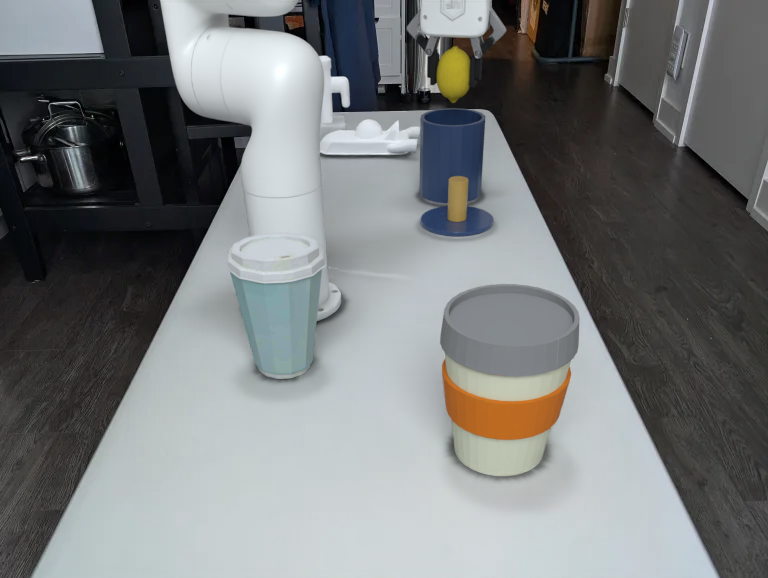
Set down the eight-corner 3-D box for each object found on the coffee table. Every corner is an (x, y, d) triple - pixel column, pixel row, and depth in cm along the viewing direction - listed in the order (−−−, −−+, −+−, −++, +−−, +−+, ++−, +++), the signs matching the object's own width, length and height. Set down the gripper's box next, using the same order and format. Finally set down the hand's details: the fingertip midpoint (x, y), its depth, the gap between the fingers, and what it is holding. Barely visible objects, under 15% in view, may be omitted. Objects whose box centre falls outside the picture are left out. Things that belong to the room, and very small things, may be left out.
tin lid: (485, 243, 121) (488, 195, 116) (412, 236, 123) (412, 188, 118) (498, 216, 129) (502, 170, 124) (430, 210, 131) (431, 164, 127)
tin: (474, 209, 131) (478, 128, 123) (412, 203, 134) (413, 123, 126) (486, 188, 139) (491, 110, 131) (427, 183, 141) (428, 106, 133)
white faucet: (352, 145, 159) (348, 60, 149) (304, 147, 158) (298, 62, 149) (350, 134, 164) (347, 52, 155) (305, 136, 164) (298, 54, 154)
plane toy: (321, 142, 160) (319, 111, 157) (421, 144, 158) (421, 112, 155) (312, 159, 152) (310, 126, 149) (416, 161, 151) (417, 128, 147)
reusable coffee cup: (457, 405, 87) (464, 275, 77) (572, 427, 83) (594, 293, 74) (419, 471, 78) (421, 334, 68) (546, 499, 75) (566, 358, 65)
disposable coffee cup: (232, 353, 97) (213, 231, 87) (317, 336, 99) (308, 216, 90) (254, 397, 89) (235, 269, 79) (345, 378, 92) (338, 252, 82)
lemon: (470, 98, 129) (473, 42, 123) (470, 107, 124) (473, 49, 119) (436, 98, 129) (437, 42, 124) (434, 107, 125) (436, 49, 120)
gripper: (393, -55, 112) (394, 87, 124) (514, -53, 109) (504, 93, 120) (407, -60, 118) (407, 76, 130) (523, -59, 114) (512, 81, 126)
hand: (453, 83), depth 125 cm, fingers closed on lemon, 5 cm apart
